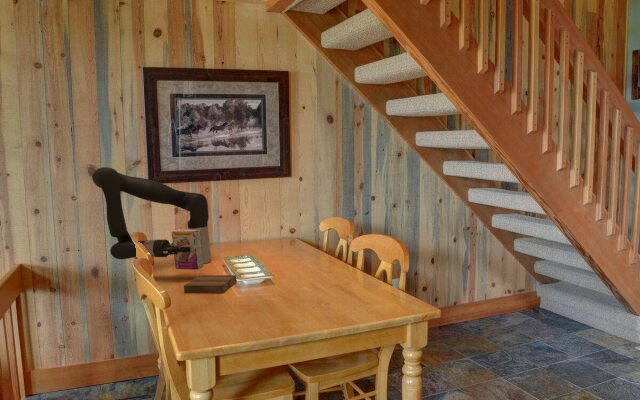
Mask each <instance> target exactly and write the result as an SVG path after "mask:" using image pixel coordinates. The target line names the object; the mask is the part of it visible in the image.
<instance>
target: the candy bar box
mask: <svg viewBox="0 0 640 400" xmlns="http://www.w3.org/2000/svg"><path fill="white" fill-rule="evenodd" d="M171 238H172V239H171V241H172V243H173V245H177V246H178V247H190V252H182V253H178V254H173V257H174V267H175V270H195V271H197V270H200V269H203V268H204V264H203V256H202V246H201V236H200V230H188V228H187V229H184V228H183V229H182V228H181V229H179V228H178V229H175V230H172V231H171Z"/></svg>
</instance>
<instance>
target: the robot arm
mask: <svg viewBox="0 0 640 400" xmlns="http://www.w3.org/2000/svg"><path fill="white" fill-rule="evenodd" d="M91 178H92V181H93V183H94V185H95V186H96V187H98V188H100V189H101V190H102V192H103V195H104V198H105V203H106V222H107V226H108V230H109V234H110V236H111V237H112V238H116V240H117V241H118V242H116V243H114V244H113V245H112V246H111V248H110V254H111V257H113V258H114V259H116V260H127V259H133V258H137V257H136V248H135V244H134V242H135V241H133V239H132V237H131V234H130V233H129V231H128V227H127V223H126V219H125V216H124V214H125V213H124V211H123V210H124V209H123V205H122V196H121V192H122V193H125V194H128V195H130V196H133V197H136V198H139V199H142V200H144V201H149V202H153V203H157V204H162V205H163V204H164V205H170V206H174V207H177V208H179V209H182V210H184V211H188V212H189V220H188V221H187V229H188V230H200V236H201V246H202V256H203V265H204V264H208V263H210V262H212V256H211V254H212V253H211V243H210V236H209V235H210V234H209V224H208V222H209V205H208V199H207V197H206V196H205V195H204V194H202V193H197V192H188V191H182V190H178V189H175V188H173V187H172V186H171V187H170V186H169V185H167V184H164V183H163V182H159V181H157V180H156V181H155V180H152V179H148V178H143V177H137V176H130V175H127V174H126V175H125V174H123V173H120V172H118V171H117V170H116V169H114V168H112V167H109V166H108V167H106V166H105V167H99V168H97V169H95V170H94V172H93V173H92V176H91ZM137 241H138V242H140V243H142V244H143V245H144V246H145V247H146V248H147V250H148V252H149V253H150V254H151V256H152V257H151V258H167V257H169V256H171V255H172V256H174V254H178V253H182V252H190V247H178V246H177V245H173V242H171V243H170V241H169V240H168V239H166V238H165V239H164V238H163V239H148V240H137Z"/></svg>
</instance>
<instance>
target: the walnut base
mask: <svg viewBox="0 0 640 400" xmlns="http://www.w3.org/2000/svg"><path fill="white" fill-rule="evenodd" d="M235 284H237V275H236V274H234V275H232V274H231V275H229V274H227V275H223V274H222V275H218V274H217V275H216V274H215V275H214V274H211V275H209V274H208V275H207V274H206V275H205V274H204V275H201V274H200V275H198V276H196V277H195V278H193V279H191V280H190V281H189V282H187V283H185V284H184V285H183V292H184V294H224V293H225V292H227V291H228V290H229V289H231V288H232V287H233V286H234V285H235Z"/></svg>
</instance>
